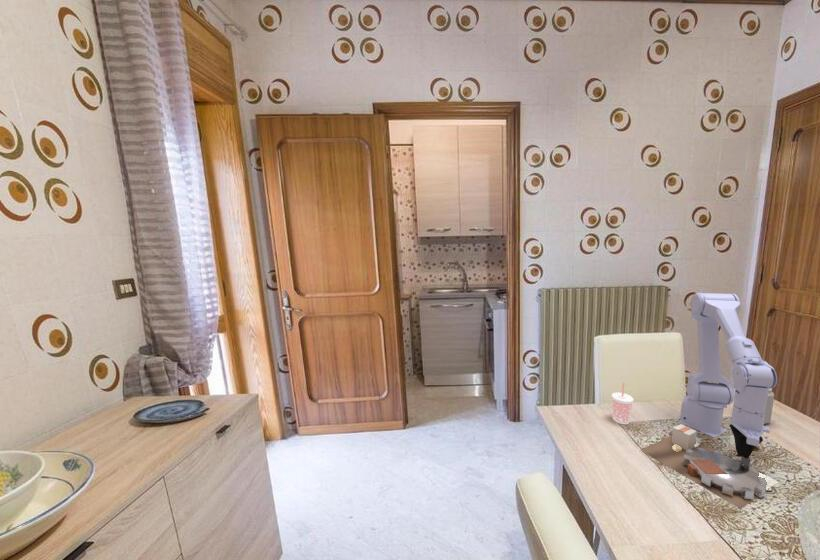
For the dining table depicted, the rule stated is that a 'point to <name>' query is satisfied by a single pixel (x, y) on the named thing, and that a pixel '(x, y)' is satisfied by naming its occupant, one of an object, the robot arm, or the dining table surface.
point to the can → (769, 406)
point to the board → (675, 461)
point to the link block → (684, 437)
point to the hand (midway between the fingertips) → (742, 455)
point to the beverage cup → (622, 407)
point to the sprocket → (725, 473)
